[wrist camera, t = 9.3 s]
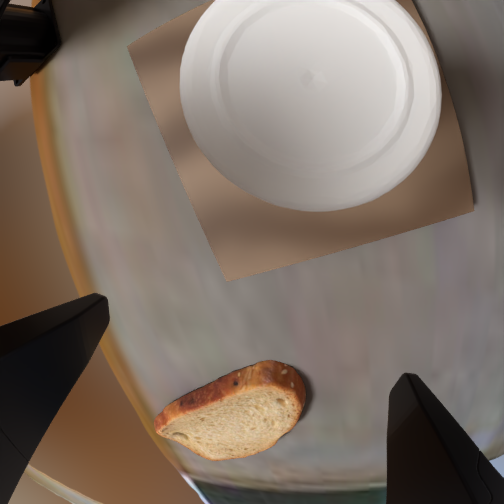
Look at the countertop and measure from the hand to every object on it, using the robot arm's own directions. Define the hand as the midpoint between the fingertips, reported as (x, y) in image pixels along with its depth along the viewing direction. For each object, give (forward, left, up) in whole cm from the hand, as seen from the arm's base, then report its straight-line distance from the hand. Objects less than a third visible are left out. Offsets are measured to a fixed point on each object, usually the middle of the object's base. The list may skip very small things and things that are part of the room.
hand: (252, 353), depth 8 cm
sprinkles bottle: (-6, +3, -12) cm, 14 cm away
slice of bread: (+19, -14, -14) cm, 27 cm away
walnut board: (-6, +4, -13) cm, 15 cm away
